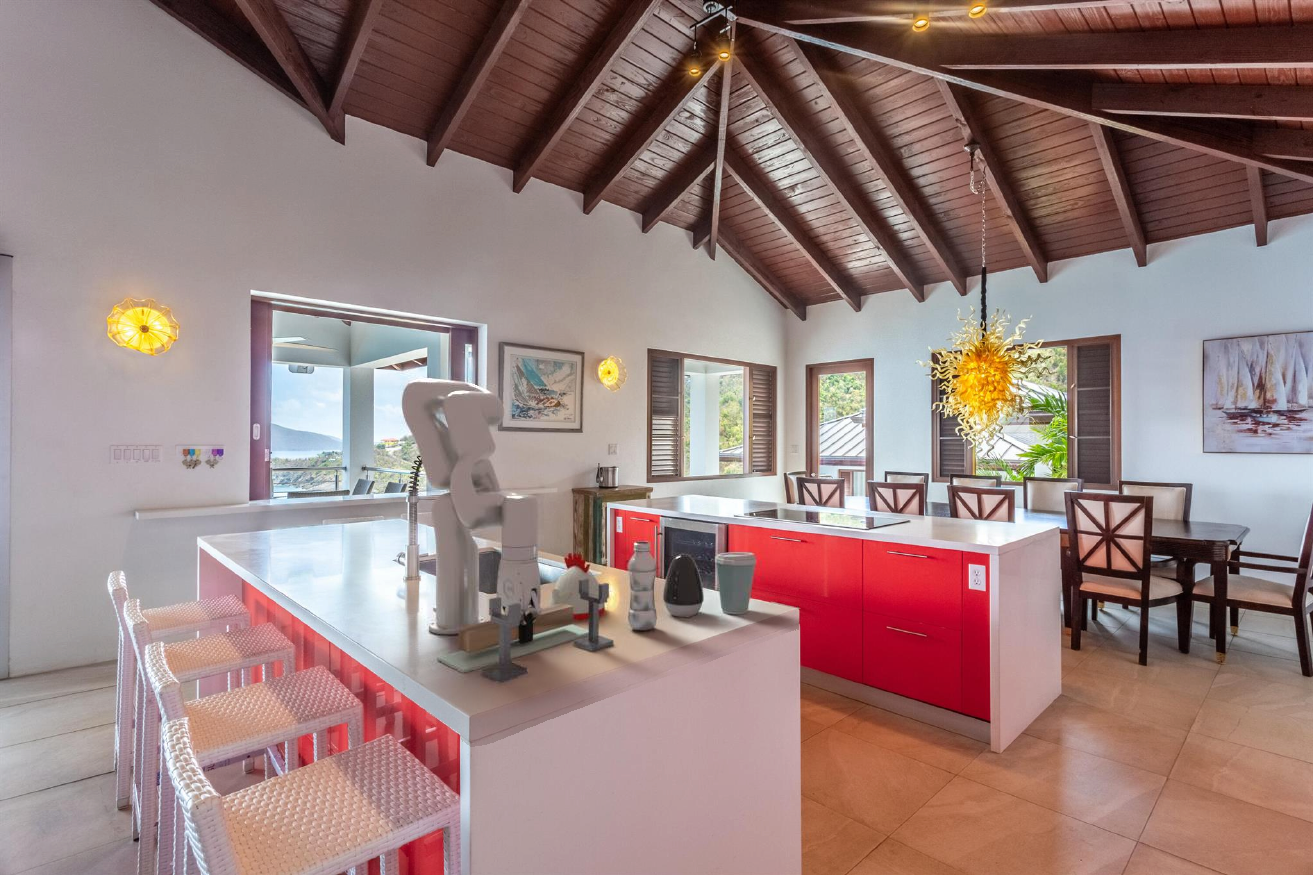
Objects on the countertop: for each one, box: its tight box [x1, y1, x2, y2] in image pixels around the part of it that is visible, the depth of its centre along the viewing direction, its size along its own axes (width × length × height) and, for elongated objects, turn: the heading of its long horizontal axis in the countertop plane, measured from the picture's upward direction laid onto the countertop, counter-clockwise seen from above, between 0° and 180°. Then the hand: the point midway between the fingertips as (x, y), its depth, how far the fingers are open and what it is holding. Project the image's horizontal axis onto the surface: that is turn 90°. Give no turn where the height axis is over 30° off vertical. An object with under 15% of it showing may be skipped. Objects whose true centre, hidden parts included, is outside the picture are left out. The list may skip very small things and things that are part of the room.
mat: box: [436, 624, 589, 674], centre depth 129 cm, size 10×32×1 cm, turn 137°
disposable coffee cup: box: [714, 551, 757, 615], centre depth 156 cm, size 11×11×15 cm
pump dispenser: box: [662, 553, 705, 618], centre depth 153 cm, size 10×10×15 cm
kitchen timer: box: [549, 552, 606, 621], centre depth 155 cm, size 14×14×15 cm
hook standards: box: [481, 578, 615, 684], centre depth 122 cm, size 7×28×14 cm, turn 137°
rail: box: [457, 603, 574, 653], centre depth 129 cm, size 4×26×4 cm, turn 137°
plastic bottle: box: [627, 540, 658, 631], centre depth 141 cm, size 6×7×20 cm
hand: (519, 638), depth 129 cm, fingers closed on rail, 4 cm apart
